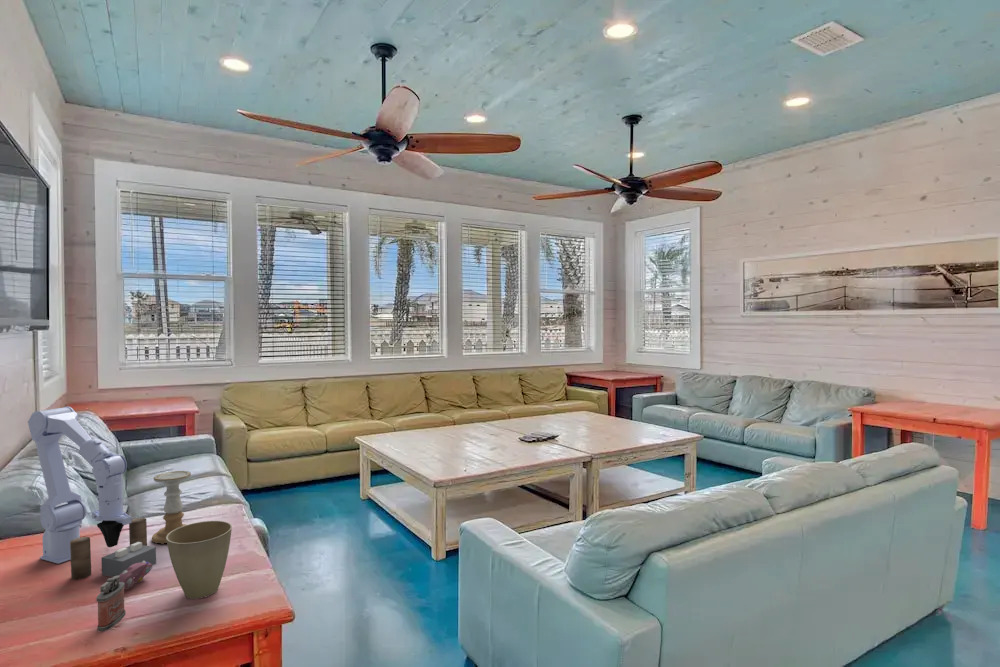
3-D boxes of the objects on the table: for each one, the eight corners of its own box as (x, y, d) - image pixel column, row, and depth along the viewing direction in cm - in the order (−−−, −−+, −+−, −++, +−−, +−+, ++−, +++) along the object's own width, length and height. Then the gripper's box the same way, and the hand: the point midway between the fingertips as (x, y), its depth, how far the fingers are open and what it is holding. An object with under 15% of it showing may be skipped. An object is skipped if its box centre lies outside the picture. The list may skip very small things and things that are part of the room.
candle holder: (182, 544, 177) (180, 480, 176) (142, 544, 177) (141, 480, 177) (203, 529, 189) (201, 469, 189) (166, 529, 190) (164, 469, 189)
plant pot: (172, 585, 150) (170, 525, 149) (234, 575, 156) (232, 517, 155) (163, 612, 136) (161, 546, 136) (232, 599, 142) (230, 536, 141)
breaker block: (101, 575, 157) (101, 551, 157) (135, 560, 166) (135, 538, 166) (122, 579, 154) (122, 555, 154) (156, 564, 163) (155, 541, 163)
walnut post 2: (126, 555, 169) (125, 522, 169) (140, 549, 174) (140, 517, 173) (136, 557, 168) (135, 524, 167) (150, 551, 172) (149, 519, 171)
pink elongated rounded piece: (118, 600, 145) (128, 577, 145) (104, 591, 146) (114, 568, 145) (149, 582, 155) (158, 560, 154) (136, 574, 156) (145, 552, 155)
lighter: (114, 613, 136) (113, 571, 136) (129, 612, 136) (128, 571, 136) (93, 631, 128) (91, 587, 128) (109, 630, 128) (107, 587, 128)
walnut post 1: (67, 578, 155) (66, 541, 155) (84, 571, 159) (83, 535, 159) (77, 580, 153) (76, 544, 153) (94, 574, 157) (93, 538, 157)
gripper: (79, 499, 162) (81, 547, 162) (112, 506, 156) (114, 555, 156) (105, 492, 168) (107, 538, 169) (138, 498, 162) (139, 545, 163)
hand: (112, 545), depth 163 cm, fingers closed
